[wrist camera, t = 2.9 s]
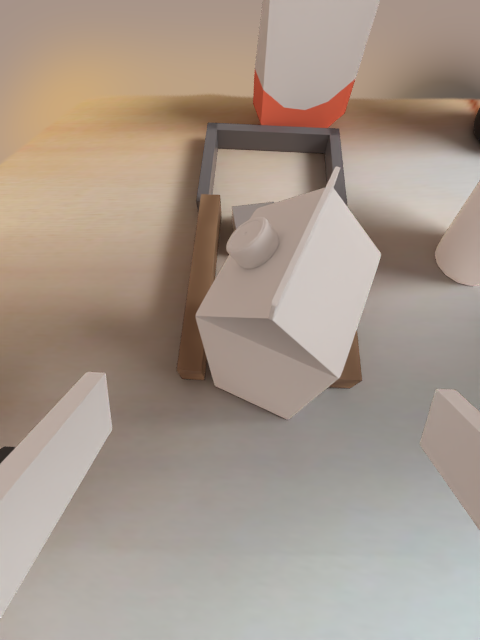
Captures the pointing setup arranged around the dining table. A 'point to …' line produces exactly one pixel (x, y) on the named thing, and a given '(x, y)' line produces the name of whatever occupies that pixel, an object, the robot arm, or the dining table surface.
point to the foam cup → (462, 244)
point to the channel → (199, 285)
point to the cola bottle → (477, 125)
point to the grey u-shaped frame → (270, 148)
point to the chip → (244, 213)
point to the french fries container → (309, 59)
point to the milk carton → (288, 301)
